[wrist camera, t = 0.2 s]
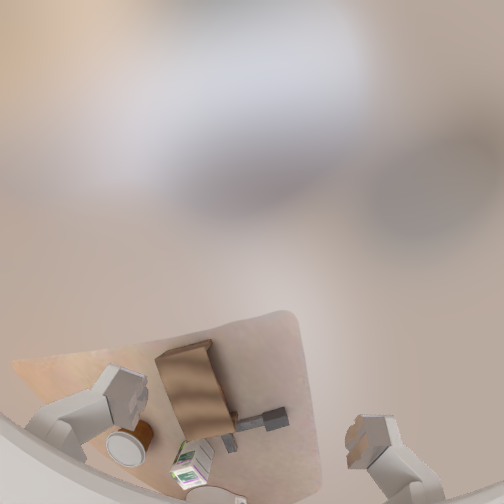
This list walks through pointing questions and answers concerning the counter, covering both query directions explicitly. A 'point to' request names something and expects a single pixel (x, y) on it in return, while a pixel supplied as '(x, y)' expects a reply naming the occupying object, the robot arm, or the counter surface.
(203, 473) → the syrup box
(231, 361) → the counter surface
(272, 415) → the metal crook
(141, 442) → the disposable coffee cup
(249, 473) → the counter surface
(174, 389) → the walnut cubby
